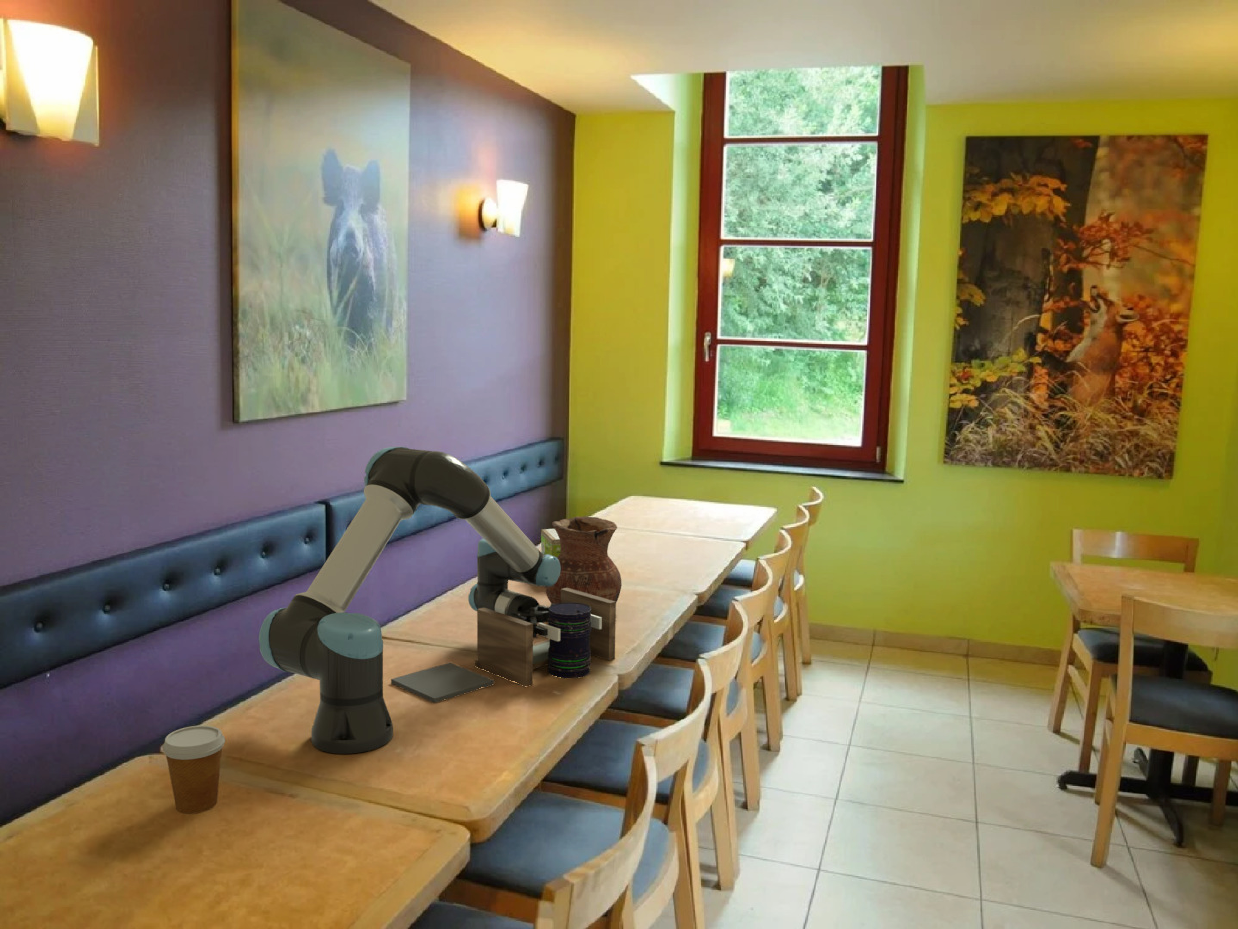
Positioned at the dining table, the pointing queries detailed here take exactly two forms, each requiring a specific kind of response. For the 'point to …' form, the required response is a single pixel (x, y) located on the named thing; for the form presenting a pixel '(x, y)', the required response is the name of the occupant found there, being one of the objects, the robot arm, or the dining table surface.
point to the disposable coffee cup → (194, 766)
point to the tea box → (550, 542)
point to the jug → (585, 559)
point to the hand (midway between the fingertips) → (580, 629)
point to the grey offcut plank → (540, 652)
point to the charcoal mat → (442, 682)
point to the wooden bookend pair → (512, 644)
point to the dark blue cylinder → (570, 640)
